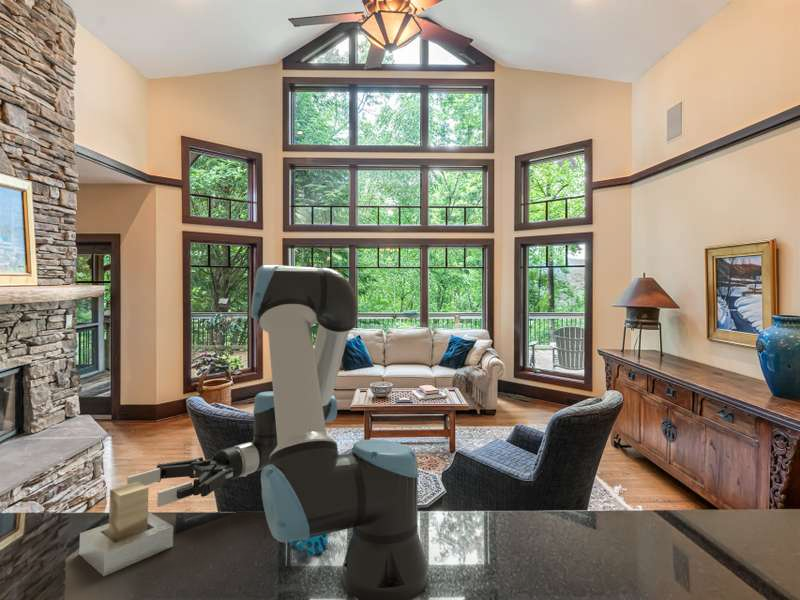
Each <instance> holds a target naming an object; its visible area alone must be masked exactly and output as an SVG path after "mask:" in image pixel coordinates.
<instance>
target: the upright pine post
mask: <svg viewBox="0 0 800 600" xmlns="http://www.w3.org/2000/svg"><path fill="white" fill-rule="evenodd" d="M108 508H109V509H108V510H109V512H108V513H109V515H108V516H109V517H108V523H109V536H108V538H109V539H110V540H112V541H113V542H114V543H116V542H118V541H121V540H123V539H126V538H129V537H131V536H134V535H136V534H139V533H142V532H144V531H147V522H148V512H149V487H148V485H143V484H141V483H139V482H135V483H132V484H128V485H127V484H125V485H122V486H118V487H115V488H111V489H109V507H108Z"/></svg>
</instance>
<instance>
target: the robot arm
mask: <svg viewBox="0 0 800 600" xmlns="http://www.w3.org/2000/svg"><path fill="white" fill-rule="evenodd" d="M358 308H359V307H358V299H357V296H356V293H355V291H354V289H353V287H352V285H351V283H350V282H349V280H347V278H346V277H344V275H342V274H341V273H340V272H339V271H336V270H335V269H332V268H329V267H316V266H315V267H313V266H298V265H297V266H296V265H282V264H281V265H280V264H264V265H261V266H259V267H258V269H257V270H256V273H255V278H254V284H253V292H252V300H251V309H250V317H251V319H255V320H258V321H259V326H260V328H261V329H262V330H263V331H265V332H266V333H267V335H268V344H269V347H268V348H269V357H270V369H271V382H272V391H271V390H270V391H262V392H259V393H257V394H256V395H255V397H254V401H253V403H254V404H253V410H252V411H253V437H252V439H253V440H252V441H248V442H245V443H241V444H238V445H237V444H236V445H234V446H230V447H227V448H224V449H219V450H218V451H217V452H216V453H215V454H214V456H213V458H212V459H204V457H202V456H201V457H198V458H194V459H188V460H180V461H173V462H168V463H167V462H166V463H165V462H164V463H158V464H156V468H155V469H151V470H148V471H144V472H140V473H136V474H132V475H129V476H126V485H128V484H132V483H135V482H139V483H141V484H143V485H145V486H148V485H151V484H154V483H160V482H161V481H162V480H163V479H166V480H167V479H175V478H187V477H189V478H190V479H193V482H192V481H187V482H185V483H181V484H178V485H175V486H172V487H167V488H166V489H162V490H159V491H157V499H156V502H157V503H156V506H157V507H158V508H160V507H163V506H166V505H169V504H171V503H174V502H177V501H180V500H183V499H185V498H189V497H191V496H194V497H195V496H199V495H200V497H202V498H203V497H204V498H205V497H207V496H208V495H210V494H211V493H212V492H214V491H216V490H217V489H218V488H220V487H221V486H223V485H224V484H226V483H229V482H230V481H233V480H235V479H236V480H237V479H238V478H239V477H240V478H241V477H243V478H244V477H245V478H246V477H247V476H248V475H250V474H252V473H255V472H258V471H261V472H260V484H261V486H260V487H261V500H262V505H263V510H264V513H265V514H264V515H265V519H266V524H267V525H268V528H269V531H270V533H271V536H272V537H273V538H274V539H275V541H276V540H277V541H278V542H280V543H291V542H292V541H296V540H300V541H302V540H307V539H309V538H310V537H315V536H319V535H323V534H327V533H328V534H330V533H335V532H339V531H343V530H348V529H352V535H351V536H350V541H349V544H348V547H347V550H346V553H345V556H344V559H343V562H342V570H341V571H342V572H341V573H342V576H341V577H342V578H341V579H342V580H341V581H342V585H343V588H344V589H345V591H346V592H347V593H348V594H349V595H350V596H352V597H353V598H355V599H356V600H411V599H413V598H415V597H416V596H418V595H419V594H420V593H422V592H423V590H424V589H425V588H426V585H427V583H428V578H429V577H428V570H429V569H428V567H429V566H428V561H427V558H426V556H425V554H424V550H423V545H422V542H421V538H420V536H419V532H418V531H419V530H418V529H419V528H418V526H419V525H418V517H419V516H418V512H419V509H418V507H419V505H418V504H419V502H418V501H419V500H418V499H419V497H418V496H419V495H418V494H419V493H418V489H419V487H418V486H419V485H418V484H419V483H418V481H419V480H418V479H419V470H418V469H419V468H418V459H417V454H416V453H415V451H414V450H413V449H412V448H410V447H409V446H408V445H405V444H402V443H399V442H396V441H392V440H384V439H370V438H369V439H362V440H359V441H356V442H354V444H353V447H352V449H351V452H352V453H348V454H347V453H346V454H345V453H344V454H339V449H338V443H337V441H336V440H335V439H333V438H332V437H330V436H328V435H327V428H326V423H330V422H334V420H336V418H337V415H338V402H337V398H336V397H335V395H333V394H334V390H335V386H336V383H337V379H338V374H339V372H340V367H341V365H342V359H343V357H344V352H345V348H346V345H347V340H348V338H349V333H350V331H352V330H353V329H354V328H355V327H356V322H357V318H358V313H359V312H358V311H359V309H358ZM315 323H317V325H318V329H317V332H316V338H315V342H314V343H313V341H314V340H313V337H312V326H314V325H315Z"/></svg>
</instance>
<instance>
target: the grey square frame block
mask: <svg viewBox="0 0 800 600" xmlns="http://www.w3.org/2000/svg"><path fill="white" fill-rule="evenodd" d="M108 536H109V522H108V523H106V524H103V525H100V526H98V527H97V526H96V527H94V528H91V529H89V530H85V531H83V532H80V533H79V551H78V552H79V553H78V555H79V556H80V557H82V558H83V559H84V560H85V561H86V562H87V563H88V564H89V565H91V566H92V567H93V568H94V569H95V570H96V571H97V572H98V573H99V574H100V575H101V576H103V577H106V576H107V575H108V576H109V575H110V574H113V573H114V572H115V573H116V572H118V571H119V570H121V569H122V570H123V569H125V568H126V567H129V566H131V565H133V564H136V563H138V562H141V561H143V560H144V559H148V558H149V557H152V556H154V555H157V554H158V553H161V552H163V551H166V550H169V549H170V548H173V547H174V525H172V524H171V523H169V522H167V521H165V520H164V519H162V518H160V517H159V516H157V515H155V514H153V513H152V512H150V511H148V522H147V531H144V532H142V533H139V534H136V535H134V536H131V537H129V538H126V539H123V540H121V541H118V542H116V543H114V542H113V541H112V540H110V539H109V538H108Z"/></svg>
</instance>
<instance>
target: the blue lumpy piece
mask: <svg viewBox="0 0 800 600" xmlns="http://www.w3.org/2000/svg"><path fill="white" fill-rule="evenodd" d="M328 535H329V533H327V534H323V535H319V536H315V537H310V538H309V539H307V540H296V541H291V542H289V543H290V546H291V547H292V548H293V547H295V546H296V548H297V549H298V550H299V551H300V552H302V551H303V550H305V548H306V545H308V546H309V548H308V549H307V550H306V554H307V555H309V556H311V557H312V556H313V555H314V554H315V553H316V554H317V555H318V554H322V553H323V551H324V548H325V547H326V546H327V545H328V544H329V541H328V540H327V539H326V538H327V536H328ZM315 547H316V548H315Z"/></svg>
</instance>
